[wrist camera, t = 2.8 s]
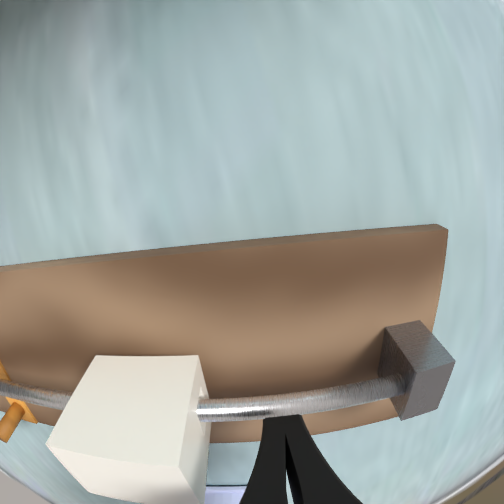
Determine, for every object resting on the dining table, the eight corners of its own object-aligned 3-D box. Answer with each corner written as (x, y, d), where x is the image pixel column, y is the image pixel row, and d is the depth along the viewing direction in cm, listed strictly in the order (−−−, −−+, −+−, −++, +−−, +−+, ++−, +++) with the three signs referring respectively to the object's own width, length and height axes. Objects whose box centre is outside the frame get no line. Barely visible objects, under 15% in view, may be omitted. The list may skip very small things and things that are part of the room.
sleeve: (212, 410, 13) (204, 509, 8) (120, 407, 13) (89, 492, 8) (198, 354, 12) (178, 466, 7) (95, 355, 12) (45, 444, 7)
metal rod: (402, 355, 15) (436, 408, 11) (-14, 362, 15) (-43, 396, 11) (411, 310, 14) (455, 361, 10) (-31, 329, 14) (-64, 361, 10)
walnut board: (401, 403, 16) (427, 452, 12) (-14, 397, 17) (-36, 427, 12) (436, 223, 13) (497, 255, 8) (-71, 275, 13) (-106, 299, 8)
